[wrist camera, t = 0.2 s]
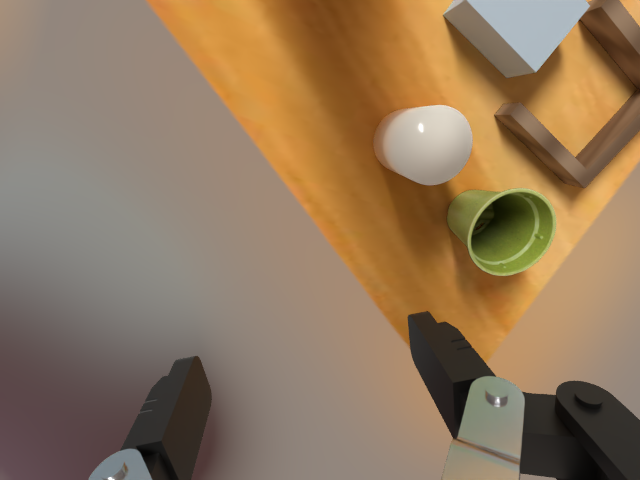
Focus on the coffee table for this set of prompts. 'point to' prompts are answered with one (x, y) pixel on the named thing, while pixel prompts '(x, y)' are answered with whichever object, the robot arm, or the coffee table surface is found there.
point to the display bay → (636, 114)
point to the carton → (515, 29)
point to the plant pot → (503, 228)
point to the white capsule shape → (424, 143)
